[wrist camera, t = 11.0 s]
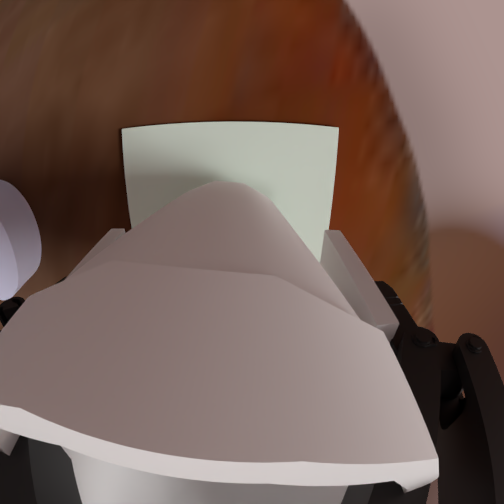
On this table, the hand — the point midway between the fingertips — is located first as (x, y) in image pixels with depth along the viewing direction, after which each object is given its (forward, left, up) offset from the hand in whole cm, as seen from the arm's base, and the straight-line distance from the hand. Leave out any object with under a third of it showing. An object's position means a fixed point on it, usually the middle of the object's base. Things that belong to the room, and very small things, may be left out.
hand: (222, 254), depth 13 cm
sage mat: (0, 0, -4) cm, 4 cm away
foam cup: (0, 0, -2) cm, 2 cm away
